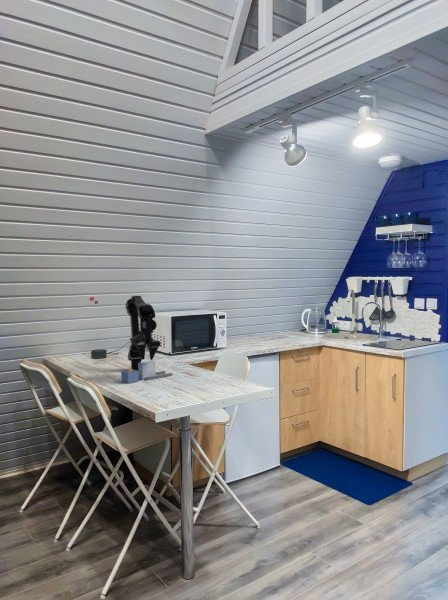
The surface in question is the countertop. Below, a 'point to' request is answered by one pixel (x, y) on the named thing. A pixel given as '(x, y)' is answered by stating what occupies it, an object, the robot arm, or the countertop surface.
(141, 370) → the medicine box
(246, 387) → the countertop surface
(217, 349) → the countertop surface
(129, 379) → the blue hollow block
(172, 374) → the rails
